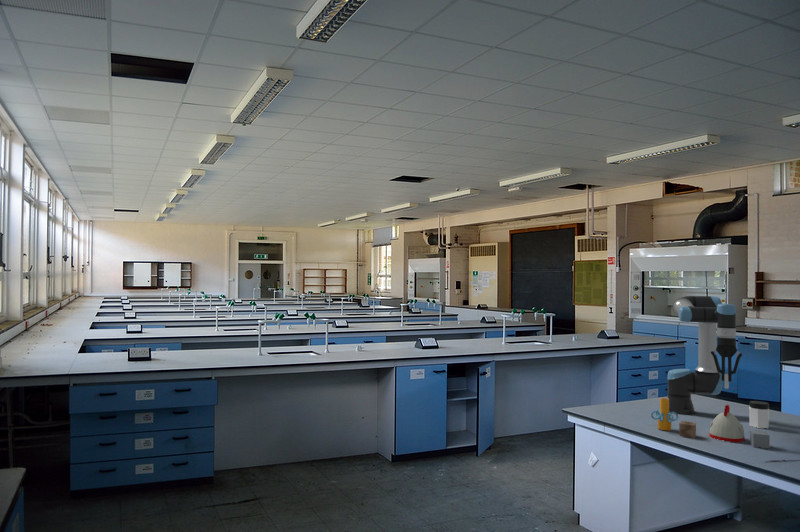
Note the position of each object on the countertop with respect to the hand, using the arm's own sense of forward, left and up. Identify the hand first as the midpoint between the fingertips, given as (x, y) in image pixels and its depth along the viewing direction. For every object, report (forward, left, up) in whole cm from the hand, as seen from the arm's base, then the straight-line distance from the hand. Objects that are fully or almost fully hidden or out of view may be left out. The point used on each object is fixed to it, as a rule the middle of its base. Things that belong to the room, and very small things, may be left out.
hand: (726, 388), depth 253 cm
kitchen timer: (0, 0, -23) cm, 23 cm away
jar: (+11, +35, -23) cm, 43 cm away
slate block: (+13, -6, -23) cm, 27 cm away
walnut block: (-15, -8, -23) cm, 29 cm away
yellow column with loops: (-26, -2, -23) cm, 35 cm away
